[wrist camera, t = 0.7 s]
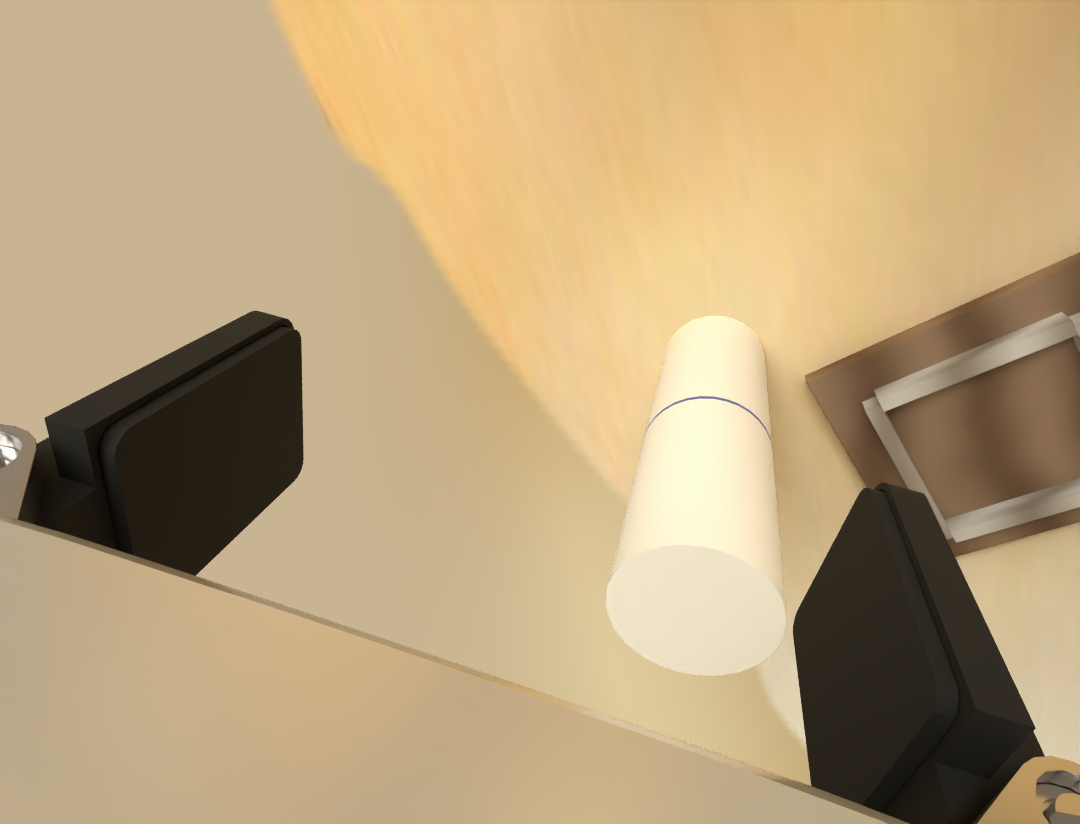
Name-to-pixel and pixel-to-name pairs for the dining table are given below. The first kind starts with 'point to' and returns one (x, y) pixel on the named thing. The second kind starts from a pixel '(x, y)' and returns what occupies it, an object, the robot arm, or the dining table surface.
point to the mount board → (973, 410)
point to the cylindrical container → (703, 512)
